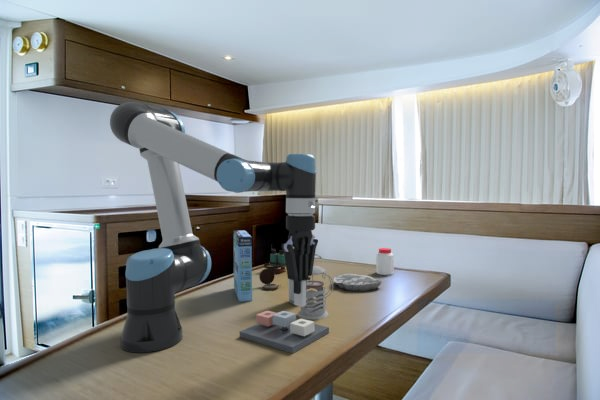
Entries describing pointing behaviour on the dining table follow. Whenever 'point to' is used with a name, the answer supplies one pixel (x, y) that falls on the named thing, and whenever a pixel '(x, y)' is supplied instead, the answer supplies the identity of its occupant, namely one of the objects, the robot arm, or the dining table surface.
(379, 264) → the pill bottle
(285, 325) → the grey key
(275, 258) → the binoculars
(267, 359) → the dining table surface
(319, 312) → the french press
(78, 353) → the dining table surface
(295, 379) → the dining table surface
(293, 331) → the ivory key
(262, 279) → the compass
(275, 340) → the keyboard base
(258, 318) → the pink cube
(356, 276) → the brain slice
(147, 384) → the dining table surface
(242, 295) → the gum box
